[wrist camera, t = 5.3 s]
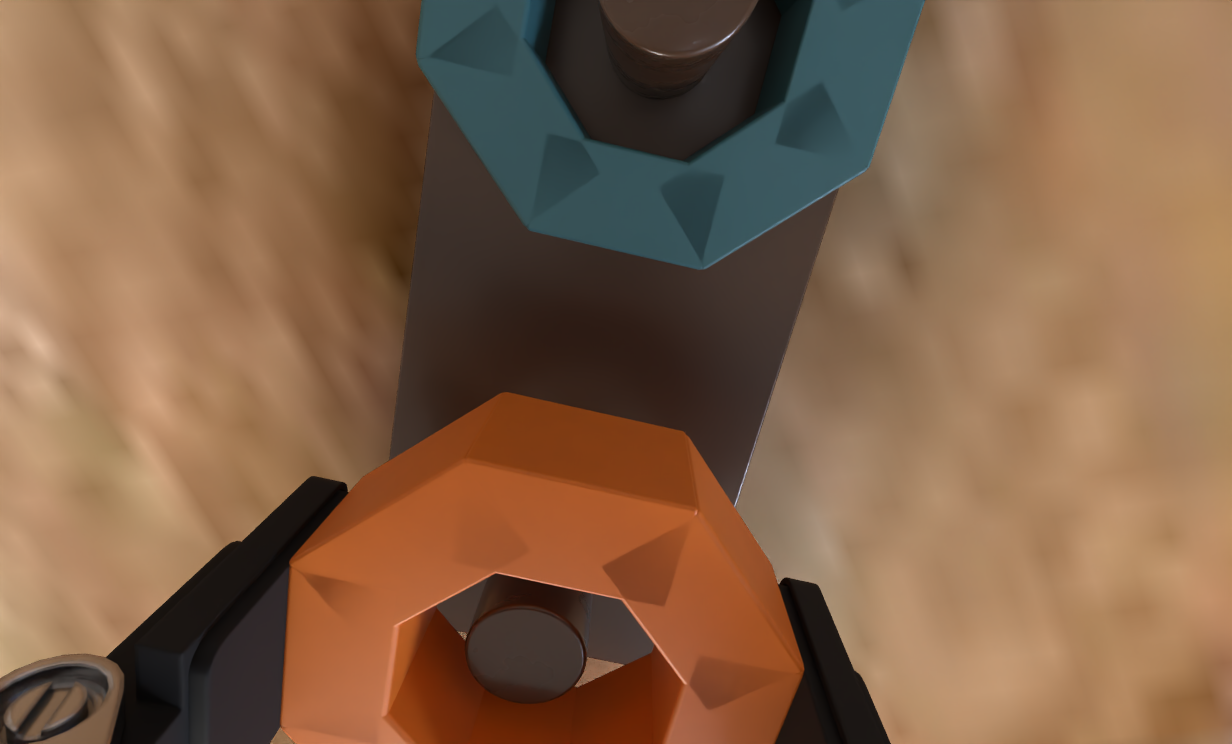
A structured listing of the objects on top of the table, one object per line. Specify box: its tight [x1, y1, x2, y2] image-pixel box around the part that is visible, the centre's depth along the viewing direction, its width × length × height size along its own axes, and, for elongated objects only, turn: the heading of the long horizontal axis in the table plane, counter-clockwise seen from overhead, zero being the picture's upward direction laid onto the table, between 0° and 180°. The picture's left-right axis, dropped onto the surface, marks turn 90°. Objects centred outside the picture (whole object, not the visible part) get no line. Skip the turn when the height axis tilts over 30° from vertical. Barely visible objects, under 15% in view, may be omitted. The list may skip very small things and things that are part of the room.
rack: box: [389, 0, 839, 704], centre depth 11 cm, size 18×8×6 cm, turn 167°
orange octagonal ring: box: [280, 392, 804, 744], centre depth 10 cm, size 7×7×2 cm
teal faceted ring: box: [416, 0, 925, 270], centre depth 10 cm, size 7×7×2 cm
